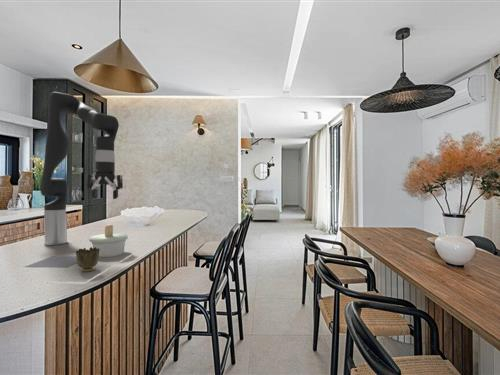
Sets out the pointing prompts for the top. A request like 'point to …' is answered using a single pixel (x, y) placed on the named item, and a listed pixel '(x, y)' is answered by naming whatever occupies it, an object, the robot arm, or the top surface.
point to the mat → (56, 262)
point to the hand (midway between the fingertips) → (105, 198)
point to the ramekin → (110, 248)
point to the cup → (87, 258)
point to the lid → (108, 236)
